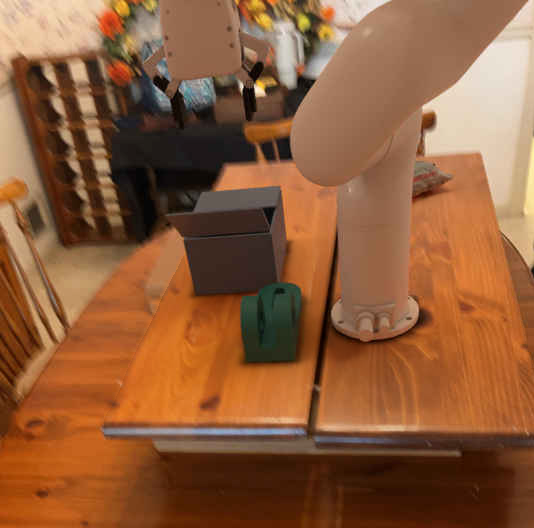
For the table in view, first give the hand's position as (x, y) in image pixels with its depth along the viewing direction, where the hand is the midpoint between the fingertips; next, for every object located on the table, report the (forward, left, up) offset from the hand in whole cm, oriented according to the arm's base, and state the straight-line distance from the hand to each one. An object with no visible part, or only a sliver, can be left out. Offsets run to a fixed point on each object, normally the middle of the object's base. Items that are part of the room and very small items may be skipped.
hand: (216, 122), depth 90 cm
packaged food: (+29, -30, -24) cm, 48 cm away
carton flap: (-8, 0, -11) cm, 13 cm away
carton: (+4, 0, -24) cm, 24 cm away
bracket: (-15, -7, -24) cm, 30 cm away
